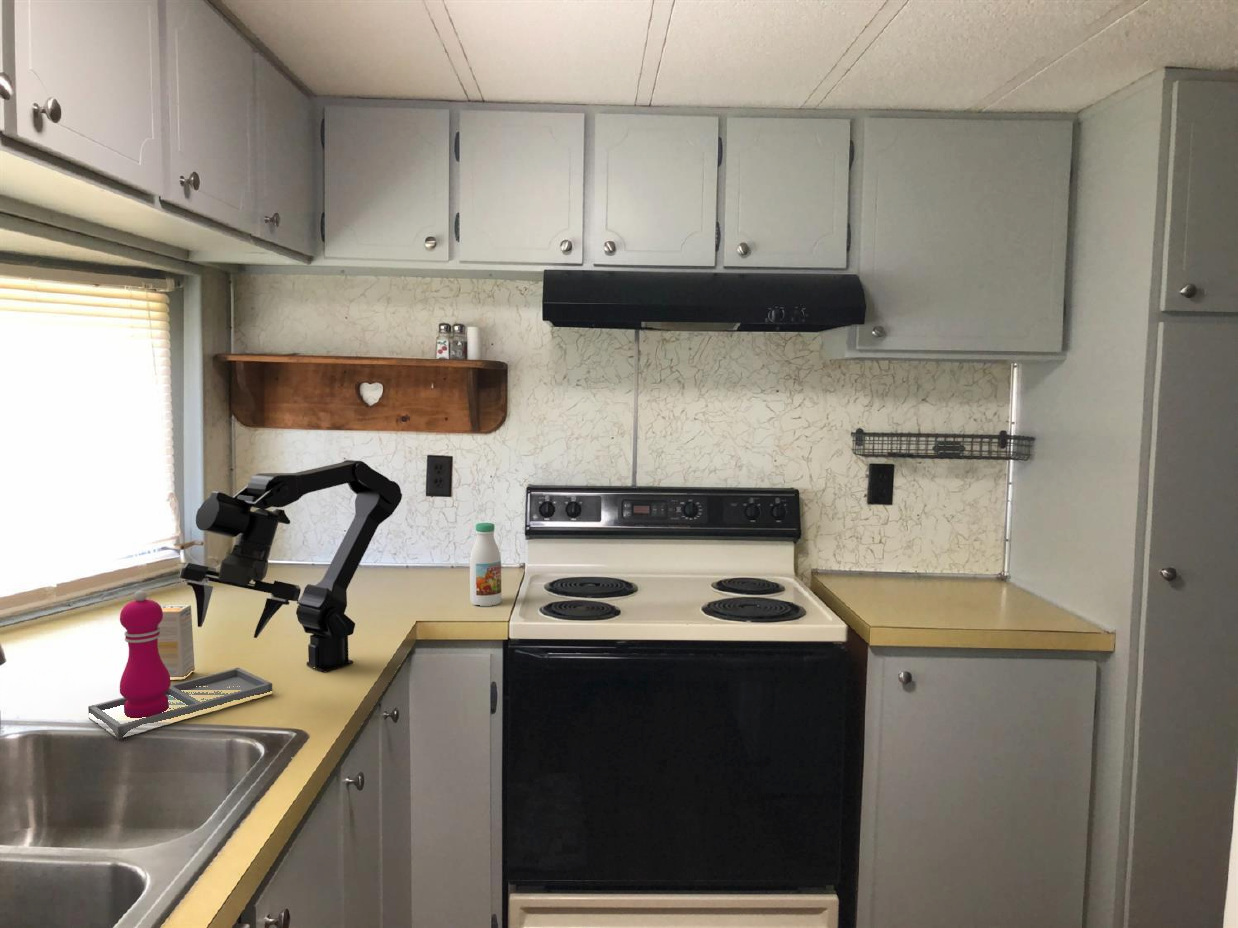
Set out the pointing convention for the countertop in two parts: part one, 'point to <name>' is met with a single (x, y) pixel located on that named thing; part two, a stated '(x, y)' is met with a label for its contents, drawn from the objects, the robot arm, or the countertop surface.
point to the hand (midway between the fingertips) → (227, 632)
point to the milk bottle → (485, 568)
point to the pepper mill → (143, 659)
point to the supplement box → (176, 640)
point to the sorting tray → (216, 681)
